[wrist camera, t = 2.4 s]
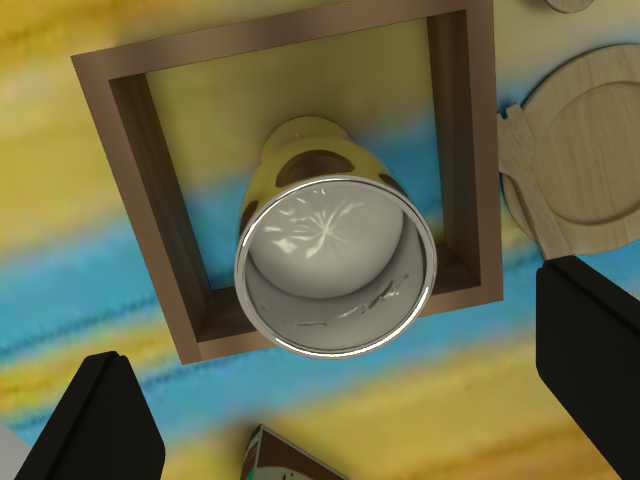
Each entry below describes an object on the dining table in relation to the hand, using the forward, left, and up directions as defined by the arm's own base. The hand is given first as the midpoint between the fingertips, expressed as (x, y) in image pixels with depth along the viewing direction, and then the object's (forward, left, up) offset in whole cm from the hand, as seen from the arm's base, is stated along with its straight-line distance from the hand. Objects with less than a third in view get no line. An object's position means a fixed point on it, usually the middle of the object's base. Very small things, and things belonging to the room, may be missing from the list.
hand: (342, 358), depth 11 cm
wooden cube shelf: (0, 0, -20) cm, 20 cm away
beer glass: (0, 0, -20) cm, 20 cm away
